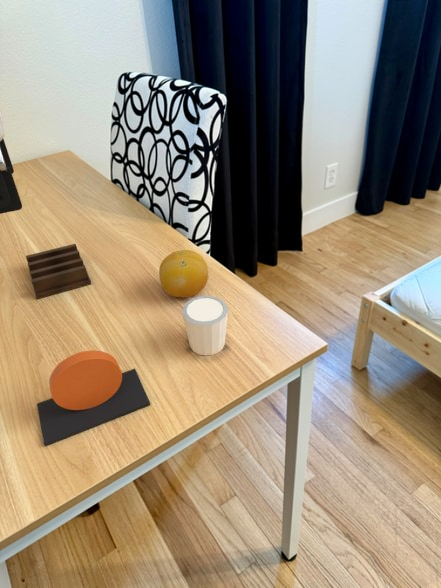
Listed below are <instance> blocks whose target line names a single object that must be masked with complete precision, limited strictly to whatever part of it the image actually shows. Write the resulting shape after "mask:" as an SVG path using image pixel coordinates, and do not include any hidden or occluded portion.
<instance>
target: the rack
mask: <svg viewBox="0 0 441 588" xmlns="http://www.w3.org/2000/svg"><path fill="white" fill-rule="evenodd" d="M25 258H26V261H27V267H28V270H29V271H28V272H29V275H30V279H31V284H32V288H33V292H34V295H35V298H36V300H40V299H43V298H47V297H50V296H51V297H52V296H55V295H58V294H61V293H65V292H68V291H71V290H76V289H79V288H82V287H86V286H89V285H92V281H91V278H90V276H89V273H88V271H87V267H86V265H85V264H84V261H83V258H82V257H81V254H80V251H79V250H78V247H77V243H72V244H68V245H64V246H60V247H56V248H53V249H48V250H44V251H39V252H36V253H31V254H28V255H25Z"/></svg>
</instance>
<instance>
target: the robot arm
mask: <svg viewBox="0 0 441 588" xmlns="http://www.w3.org/2000/svg"><path fill="white" fill-rule="evenodd" d="M4 138H5V129H4V124H3V117H2V111H1V110H0V215H1V214H5V213H11V212H16V211H20V210H22V208H23V203H22V200H21V198H20V197H21V196H20V194H19V191H18V188H17V185H16V183H15V179H14V176H13V174H14V172H15V171H14V167H13V164H12V161H11V158H10V155H9V151H8V148H7V145H6V143H5V139H4Z"/></svg>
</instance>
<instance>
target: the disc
mask: <svg viewBox="0 0 441 588" xmlns="http://www.w3.org/2000/svg"><path fill="white" fill-rule="evenodd" d="M122 373H123V372H122V370H121V367H120V365H119V361H117V359H116V358H115V357H114V356H113V355H111V354H110V353H108V352H105V351H102V350H85V351H81V352H77V353H74V354H72V355H70V356H68V357H66V358H65V359H63V360H61V362H59V363H58V364H57V365H56V366H55V368H54V369H53V370H52V372H51V374H50V377H49V380H48V385H49V386H48V387H49V392H50V395H51V398H53V400H54V401H55V403H56V404H58V405H59V406H61V407H63V408H65V409H69V410H84V409H89V408H93V407H96V406H98V405H100V404H102V403H104V402H105V401H107V400H108V399H110V398H111V397H112V396H113V395H114V394H115V393H116V392H117V390H118V389H119V387H120V385H121V382H122Z"/></svg>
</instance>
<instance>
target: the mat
mask: <svg viewBox="0 0 441 588" xmlns="http://www.w3.org/2000/svg"><path fill="white" fill-rule="evenodd" d="M150 406H151V401H150V400H149V397H148V395H147V392H146V390H145V388H144V386H143V384H142V381H141V379H140V377H139V374H138V372H137V370H136V368H133V369H130V370H126V371H124V372H122V382H121V385H120V387H119V389H118V390H117V392H116V393H115V394H114V395H113V396H112V397H111V398H110V399H108V400H107V401H105V402H104V403H102V404H100V405H98V406H96V407H93V408H89V409H84V410H69V409H65V408H63V407H61V406H59V405H58V404H56V403H55V401H54V400H53V398H52V397H51V398H49V399H45V400H43V401H40V402H38V403H36V407H37V411H38V417H39V423H40V429H41V434H42V440H43V445H44V447H48V446H50V445H53V444H55V443H58V442H60V441H63V440H66V439H68V438H71V437H74V436H76V435H78V434H81V433H83V432H86V431H89V430H91V429H94V428H97V427H99V426H102V425H104V424H107V423H108V422H109V423H110V422H111V421H114V420H116V419H120V418H122V417H124V416H127V415H129V414H131V413H134V412H137V411H139V410H142V409H145V408H147V407H150Z"/></svg>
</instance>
